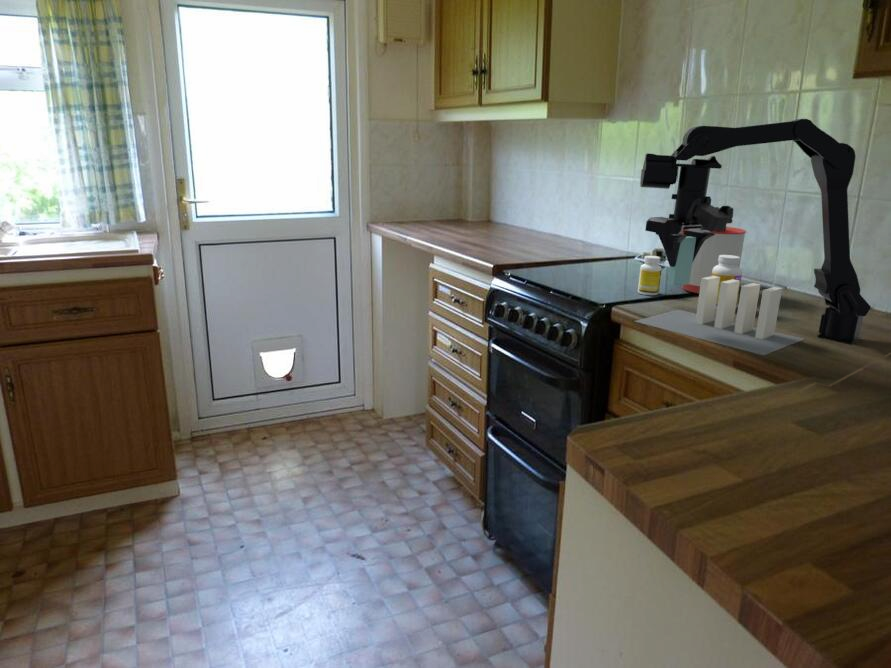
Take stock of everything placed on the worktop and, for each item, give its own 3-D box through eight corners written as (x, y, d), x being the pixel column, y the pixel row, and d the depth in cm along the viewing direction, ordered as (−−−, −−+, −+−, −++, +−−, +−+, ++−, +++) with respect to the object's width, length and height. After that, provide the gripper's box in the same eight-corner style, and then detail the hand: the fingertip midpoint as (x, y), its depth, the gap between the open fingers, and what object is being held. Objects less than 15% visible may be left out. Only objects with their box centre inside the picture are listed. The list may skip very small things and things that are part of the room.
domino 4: (773, 335, 138) (782, 288, 135) (762, 339, 135) (770, 291, 132) (766, 333, 139) (774, 286, 136) (755, 337, 136) (763, 290, 133)
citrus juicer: (659, 285, 185) (668, 213, 179) (718, 285, 187) (728, 213, 181) (684, 298, 170) (695, 220, 164) (748, 298, 172) (760, 221, 166)
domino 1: (713, 320, 148) (720, 277, 145) (701, 324, 145) (708, 279, 142) (706, 319, 149) (713, 275, 146) (695, 322, 146) (701, 278, 143)
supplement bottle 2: (732, 313, 156) (740, 259, 152) (703, 308, 160) (710, 256, 156) (739, 308, 161) (747, 256, 157) (711, 303, 165) (718, 252, 161)
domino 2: (732, 325, 145) (739, 280, 142) (721, 328, 142) (728, 283, 139) (725, 323, 146) (732, 279, 143) (714, 327, 143) (720, 282, 140)
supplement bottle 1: (661, 296, 172) (665, 259, 169) (640, 295, 172) (644, 258, 169) (655, 291, 177) (659, 255, 174) (635, 290, 177) (639, 254, 174)
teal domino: (667, 284, 139) (674, 237, 136) (682, 282, 142) (689, 236, 139) (673, 286, 138) (680, 238, 135) (689, 284, 141) (696, 237, 138)
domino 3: (752, 329, 141) (760, 284, 138) (741, 333, 138) (749, 287, 135) (745, 328, 142) (753, 283, 140) (734, 332, 139) (741, 285, 137)
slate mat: (804, 340, 136) (804, 338, 136) (763, 356, 125) (764, 355, 125) (678, 310, 157) (678, 309, 157) (633, 322, 146) (633, 321, 146)
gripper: (695, 194, 123) (682, 276, 128) (755, 193, 133) (741, 270, 137) (648, 189, 132) (638, 265, 136) (708, 188, 142) (697, 260, 146)
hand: (680, 265), depth 139 cm, fingers closed on teal domino, 5 cm apart
